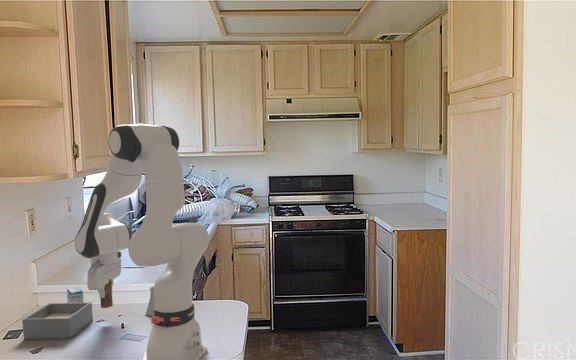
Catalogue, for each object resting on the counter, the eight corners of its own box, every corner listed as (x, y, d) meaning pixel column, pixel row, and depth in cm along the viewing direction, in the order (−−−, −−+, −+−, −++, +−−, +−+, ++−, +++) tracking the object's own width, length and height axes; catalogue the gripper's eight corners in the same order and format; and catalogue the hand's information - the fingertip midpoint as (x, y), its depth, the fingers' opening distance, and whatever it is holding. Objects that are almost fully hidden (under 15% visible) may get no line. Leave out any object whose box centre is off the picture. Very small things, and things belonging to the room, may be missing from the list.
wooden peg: (109, 307, 164) (108, 280, 164) (99, 308, 164) (97, 280, 164) (114, 304, 168) (112, 277, 167) (103, 304, 168) (102, 277, 168)
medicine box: (67, 309, 181) (66, 288, 181) (79, 307, 184) (78, 286, 183) (72, 315, 175) (70, 293, 174) (84, 312, 178) (83, 290, 177)
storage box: (70, 339, 152) (69, 318, 152) (23, 339, 153) (22, 319, 152) (92, 320, 168) (91, 302, 168) (50, 321, 169) (49, 303, 168)
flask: (167, 309, 177) (166, 284, 177) (160, 316, 170) (159, 290, 169) (149, 309, 178) (148, 284, 177) (142, 316, 171) (140, 290, 170)
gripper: (99, 264, 155) (101, 304, 155) (123, 251, 175) (125, 286, 176) (81, 264, 155) (83, 304, 156) (107, 251, 175) (109, 286, 176)
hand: (106, 294), depth 166 cm, fingers closed on wooden peg, 4 cm apart
